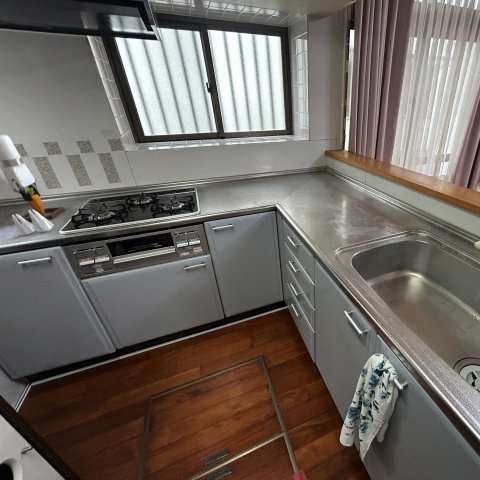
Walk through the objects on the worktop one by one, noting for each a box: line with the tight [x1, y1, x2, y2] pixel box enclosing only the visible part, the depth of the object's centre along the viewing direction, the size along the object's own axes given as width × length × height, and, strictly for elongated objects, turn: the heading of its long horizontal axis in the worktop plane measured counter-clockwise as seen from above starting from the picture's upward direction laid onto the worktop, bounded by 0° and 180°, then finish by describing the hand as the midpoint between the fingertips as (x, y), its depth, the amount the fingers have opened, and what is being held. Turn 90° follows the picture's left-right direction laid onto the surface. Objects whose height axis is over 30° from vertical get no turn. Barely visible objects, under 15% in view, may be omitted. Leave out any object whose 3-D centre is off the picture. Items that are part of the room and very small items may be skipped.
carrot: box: [27, 188, 46, 216], centre depth 136 cm, size 5×5×15 cm
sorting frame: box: [16, 206, 66, 223], centre depth 139 cm, size 14×12×2 cm
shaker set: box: [11, 209, 55, 237], centre depth 122 cm, size 12×4×11 cm, turn 107°
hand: (33, 198), depth 135 cm, fingers open, 5 cm apart
